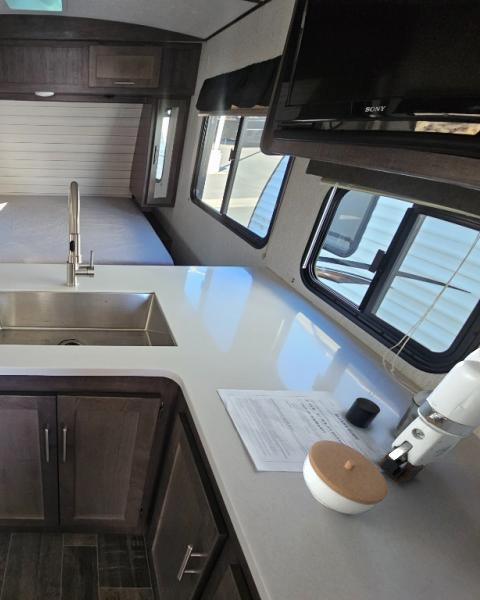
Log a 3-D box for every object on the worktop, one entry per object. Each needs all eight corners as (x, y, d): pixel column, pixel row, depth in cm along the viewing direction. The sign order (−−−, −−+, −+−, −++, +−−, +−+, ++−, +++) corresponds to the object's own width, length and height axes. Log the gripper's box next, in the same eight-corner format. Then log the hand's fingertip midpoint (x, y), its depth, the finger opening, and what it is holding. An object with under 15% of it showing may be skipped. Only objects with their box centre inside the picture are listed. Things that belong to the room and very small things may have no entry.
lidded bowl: (317, 525, 63) (343, 495, 57) (282, 464, 73) (301, 433, 68) (380, 526, 63) (412, 496, 57) (336, 465, 74) (359, 434, 68)
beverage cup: (388, 420, 85) (433, 364, 75) (425, 438, 81) (478, 381, 70) (384, 437, 81) (432, 379, 70) (423, 457, 76) (480, 398, 66)
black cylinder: (354, 411, 88) (365, 395, 84) (373, 426, 83) (385, 410, 80) (340, 414, 86) (351, 399, 83) (358, 430, 82) (370, 414, 79)
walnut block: (392, 459, 75) (402, 448, 73) (413, 478, 72) (425, 466, 69) (378, 464, 74) (388, 452, 72) (399, 483, 71) (410, 471, 68)
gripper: (439, 442, 58) (386, 496, 68) (499, 423, 62) (441, 477, 72) (395, 409, 64) (352, 463, 74) (452, 394, 68) (404, 447, 78)
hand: (396, 469), depth 73 cm, fingers closed on walnut block, 4 cm apart
